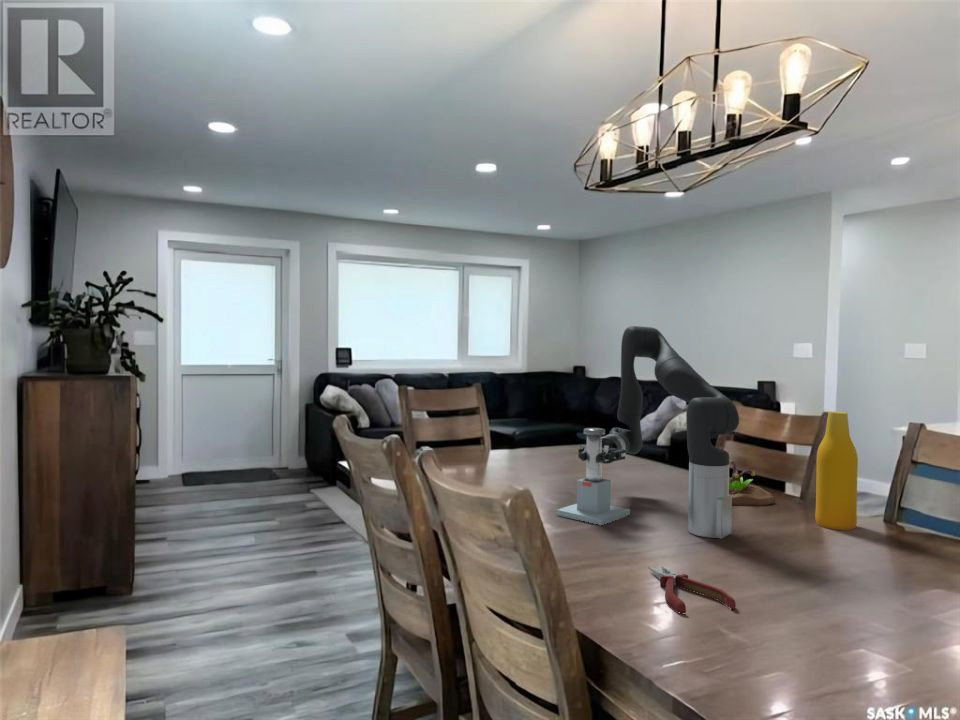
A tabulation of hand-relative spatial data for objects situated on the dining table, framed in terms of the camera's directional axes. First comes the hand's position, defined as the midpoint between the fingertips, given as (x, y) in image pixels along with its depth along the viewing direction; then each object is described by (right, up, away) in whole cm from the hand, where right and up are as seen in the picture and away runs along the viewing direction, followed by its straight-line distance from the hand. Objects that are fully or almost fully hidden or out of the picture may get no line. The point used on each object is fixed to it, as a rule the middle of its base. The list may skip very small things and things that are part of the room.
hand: (590, 457), depth 167 cm
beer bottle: (+62, -17, -6) cm, 64 cm away
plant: (+48, -16, +24) cm, 56 cm away
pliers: (+10, -18, -49) cm, 53 cm away
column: (+1, -14, +3) cm, 14 cm away
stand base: (+1, -16, +3) cm, 16 cm away
